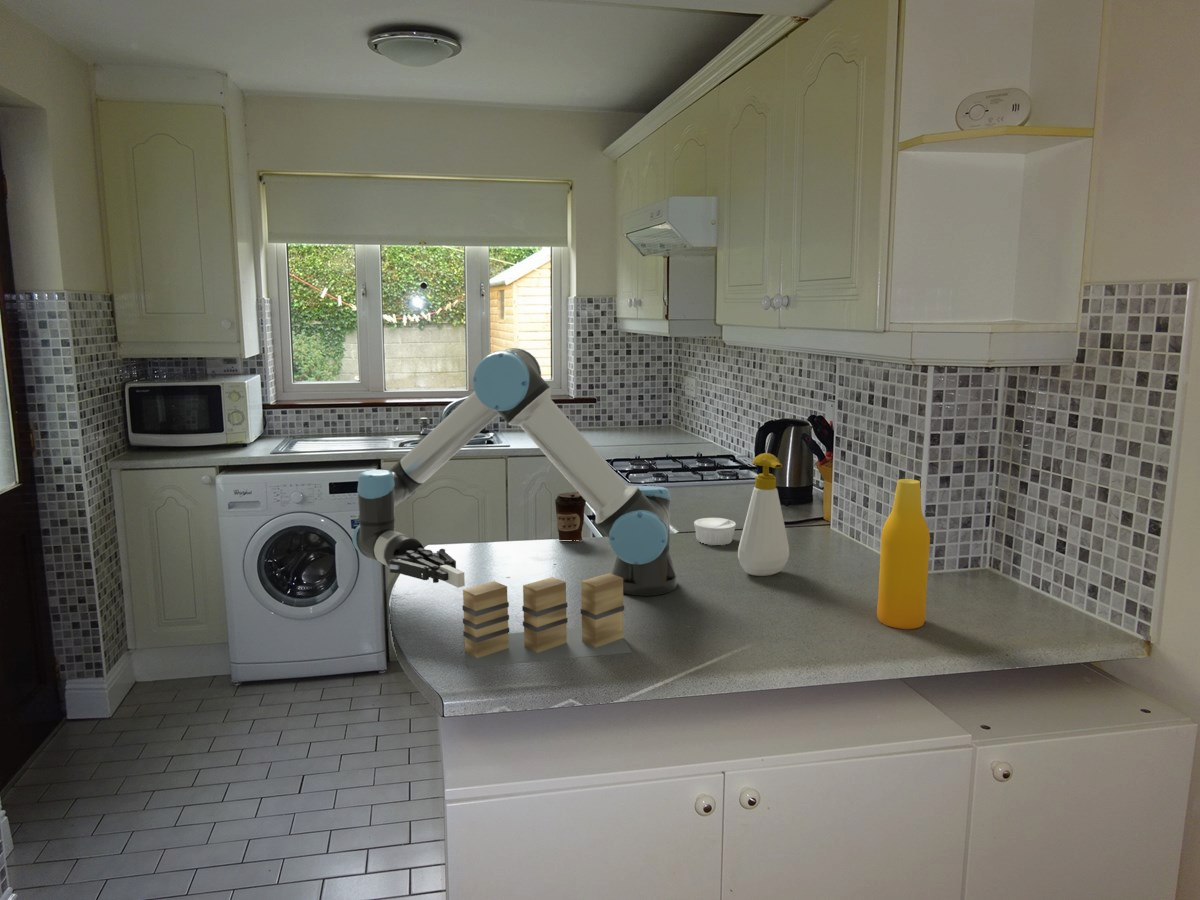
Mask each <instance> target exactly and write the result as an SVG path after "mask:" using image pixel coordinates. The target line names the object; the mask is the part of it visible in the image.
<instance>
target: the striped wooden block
mask: <svg viewBox="0 0 1200 900" xmlns="http://www.w3.org/2000/svg"><path fill="white" fill-rule="evenodd" d="M462 596H463V597H462V598H463V599H462V600H463V605H462V612H463V618H462V623H463V629H464V630H463V637H465V646H464V652H467V653H468V654H470V655H472V656H474V657H476V658H480V657H483V656H486V655H489V654H492V653H495V652H498V651H501V650H504V649H507V648H509V639H508V634H509V633H510V627H509V620H510V615H509V609H508V608H509V605H510V603H509V600H508V586H507V585H505V584H501V583H500V582H498V581H495V580H494V581H490V582H487V583H483V584H479V585H475V586H472V587H469V588H468V587H467V588H464V589H462Z"/></svg>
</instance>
